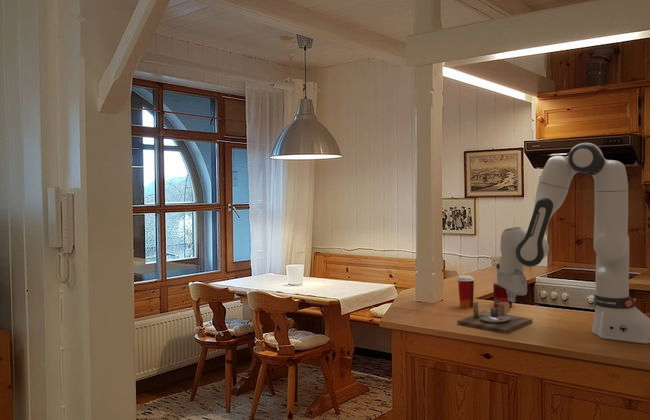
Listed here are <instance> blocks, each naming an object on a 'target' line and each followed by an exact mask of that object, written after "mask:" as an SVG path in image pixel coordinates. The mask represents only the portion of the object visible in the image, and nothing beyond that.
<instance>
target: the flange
mask: <svg viewBox="0 0 650 420" xmlns="http://www.w3.org/2000/svg"><path fill="white" fill-rule="evenodd" d="M490 312H491V313H483V314H480V315H479V319H480V320H481V321H483V322H488V323H504V322H508V321H510V316H509V315H510V314H509V313H511V312H510V308H509V303H507V302H501V303H498V308H497V307H491V308H490Z"/></svg>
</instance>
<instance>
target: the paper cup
mask: <svg viewBox="0 0 650 420" xmlns="http://www.w3.org/2000/svg"><path fill="white" fill-rule="evenodd" d="M456 280H457V284H458V296H459V306H460V308H461V309H464V308H470V309H472V308H473V302H474V291H475V289H474V287H475V277H474V276H473V275H469V274H468V275H467V274H466V275H458V277H457V279H456Z"/></svg>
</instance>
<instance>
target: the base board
mask: <svg viewBox="0 0 650 420" xmlns="http://www.w3.org/2000/svg"><path fill="white" fill-rule="evenodd" d="M472 311H473V312H472V313H473V314H472V315H469V316H466V317H463V318H461V319H458V320H457V321H456V322H457V324H456V325H460V326H466V327H470V328H475V329H480V330H484V331H490V332H494V333H500V334H505V335H507V334H509V333H513V331H516V330H519V329H521V328H523V327H526V326H529V325H531V324H532V323H533V318H528V317H524V316H516V315H511V314H508V315H509V316H510V321H508V322H504V323H488V322H483V321H481V320H480V319H479V315H480V314H483V313H491V311H487V310H483V311H479V302H478V301H473V310H472Z"/></svg>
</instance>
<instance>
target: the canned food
mask: <svg viewBox="0 0 650 420" xmlns="http://www.w3.org/2000/svg"><path fill="white" fill-rule="evenodd" d="M492 283H493V305H494V308H498V303H501V302H507V303H509V309H510V308H512V307H513V302H510V301H508V295H507V289H505V288H503V287H501V286H499V285H498V283H497V280H496V281H495V280H494V281H493V282H492Z"/></svg>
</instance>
